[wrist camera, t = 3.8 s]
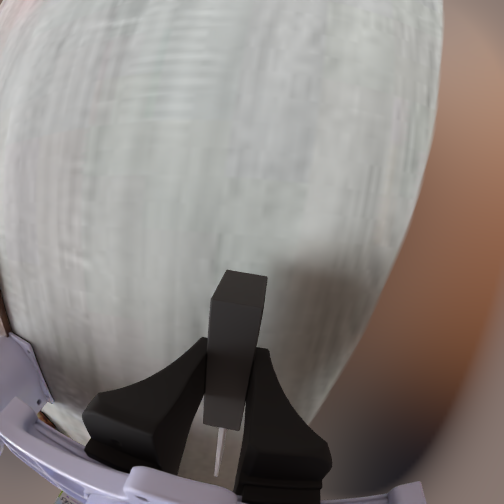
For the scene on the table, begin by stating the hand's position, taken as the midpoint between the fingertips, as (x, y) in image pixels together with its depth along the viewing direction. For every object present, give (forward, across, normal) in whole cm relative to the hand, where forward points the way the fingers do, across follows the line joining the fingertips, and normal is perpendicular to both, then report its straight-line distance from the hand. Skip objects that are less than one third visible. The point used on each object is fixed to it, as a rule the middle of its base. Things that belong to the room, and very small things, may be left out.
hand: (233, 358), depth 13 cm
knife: (+2, 0, +4) cm, 4 cm away
